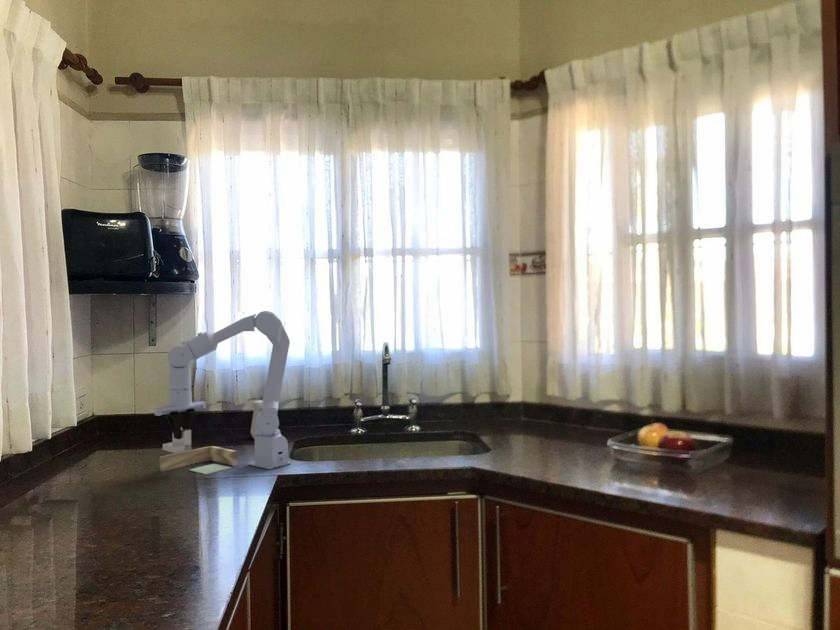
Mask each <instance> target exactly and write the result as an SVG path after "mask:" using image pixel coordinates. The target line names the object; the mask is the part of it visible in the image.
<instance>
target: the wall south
mask: <svg viewBox="0 0 840 630" xmlns="http://www.w3.org/2000/svg"><path fill="white" fill-rule="evenodd" d="M210 446H211V447H210V460H209V461H211V460H212V461H213V462H215V463H220V464H225V465H229V466H234V465H235V466H237V465H238V450H234V449H229V448H225V447H219V446H216V445H215V446H214V445H210Z"/></svg>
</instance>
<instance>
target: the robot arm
mask: <svg viewBox="0 0 840 630" xmlns="http://www.w3.org/2000/svg"><path fill="white" fill-rule="evenodd" d="M255 328H256V329H257V330H258V331H259V332H260V333H261V334H263V335H265V337H267V339H268V340H269V342H270V343H271V344H272V348H271V349H272V350H271V354H270V360H269V365H268V370H267V376H266V381H265V385H264V386H265V387H264V392H263V396H262V397H263V398H262V405H261V409H260V410H259V412H258V413H257V415H256V427H257V429H258V430H257V431H256V432H254V434H255V439H254V460H255V461H252V462H248V465H249V466H251V467H258V468H261V469H262V468H263V469H266V470H271V469H274V468H275V467H276V468H279V466H280V467H284V466H287V465H290V464H291V463H292V462H291V461H289V443H288V440H287V438H286V437H285V436H283V435H282V433H281V429H279V426H280V420H279V416H278V413H279V412H278V411H279V405H280V404H279V403H280V397H281V392H282V388H283V381H284V376H285V371H286V365H287V359H288V354H289V348H290V340H291V339H290V338H289V336H288V333H287V332H286V329H285V326H284V324H283V322H282V321H281V319H280V318H279V317H278V316H277V315H276V314H275V313H274V312H272V311H268V310H264V311H263V310H262V311H261V312H259V313H256V314H252V315H249V316H245V317H243V318H241V319H239V320H237V321H235V322H233V323H231V324H229V325H227V326H225V327H224V328H222V329H220V330H218V331H216V332H214V333H211V332H208V331H205V332H203V331H201V332H198V333H197V336H195V337H193V338H191V339H189V340H186V341H185V340H183V341H182V342H180V343H181V345H176V346H174V347H173V348H171V349H170V350H169V351H168V354H167V361H168V363H169V366H168V368H169V373H168V379H169V380H168V381H169V383H168V384H169V389H168V391H169V404H168V405H164V406H159V407H154V410H153V411H154V416H158V417H159V416H162V415H164V417H165V419H166V420H167V422H168V424H169V426H170V428H171V430H172V431H171V432H172V436H173V435H174V438H175V439H180V438H181V427H182V428H186V429H190V430H191V431H192V426H193V424H194V421H195V419H196V417H197V415H198V411H197V410H200V409H202V410H203V409H207V401H203V400H202V401H201V400H200V401H193V399H192V397H193V396H192V394H193V393H192V371H191V363H190V362H191V361H192V360H194V361H197V359H198V360H199V359H200V358H202V357H204V356H207V355H209V354H210V353H213V352H215V351H216V350H217V348H218V345H219V344H220V343H222V342H224V341H226V340H229V339H230V338H233V337H235V336H237V335H238V334H242V333H243V332H256V331H255V330H256V329H255ZM276 468H275V469H276Z"/></svg>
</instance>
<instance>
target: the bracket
mask: <svg viewBox="0 0 840 630" xmlns="http://www.w3.org/2000/svg"><path fill="white" fill-rule="evenodd" d="M162 450H163V451H165V452H170V453H172V454H174V453H179V452H184V451H189V450H192V429H191V430H190V429H186V428H182V426H181V438H180V439H175V438H174V435H173V434H172V441H171V442H167V443H162Z"/></svg>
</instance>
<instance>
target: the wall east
mask: <svg viewBox="0 0 840 630" xmlns="http://www.w3.org/2000/svg"><path fill="white" fill-rule="evenodd" d="M211 446H212V445H209V446H204V447H199V448H194V449H191V450H186V451H182V452H177V453H171V454H166V455H162V456H161V455H160V456H159V458H158V459H159V472H162V471H163V472H167V471H170V470H174V469H180V468H184V467H187V465H188V466H192V465H196V464H195V463H197V464H200V463H199V462H201V463H204V461H205V462H208V461H209V462H210V461H211V460H210V447H211ZM191 464H192V465H191ZM183 466H184V467H183ZM179 467H180V468H179Z"/></svg>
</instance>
